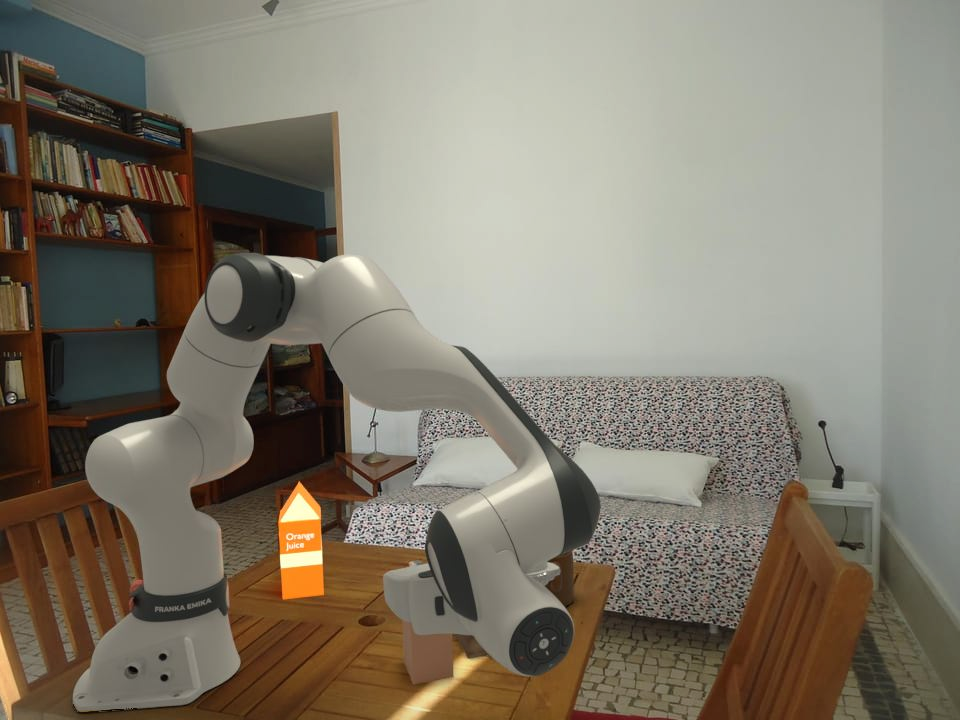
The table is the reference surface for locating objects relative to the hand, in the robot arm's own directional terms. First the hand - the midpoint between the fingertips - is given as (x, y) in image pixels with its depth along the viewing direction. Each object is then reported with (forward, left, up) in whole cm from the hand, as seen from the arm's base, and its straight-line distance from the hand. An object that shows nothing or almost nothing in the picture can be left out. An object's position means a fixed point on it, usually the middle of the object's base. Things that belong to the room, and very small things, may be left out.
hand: (449, 559), depth 96 cm
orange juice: (-17, +49, -21) cm, 56 cm away
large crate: (+11, +18, -21) cm, 30 cm away
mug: (+25, +25, -21) cm, 41 cm away
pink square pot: (-1, +11, -20) cm, 23 cm away
